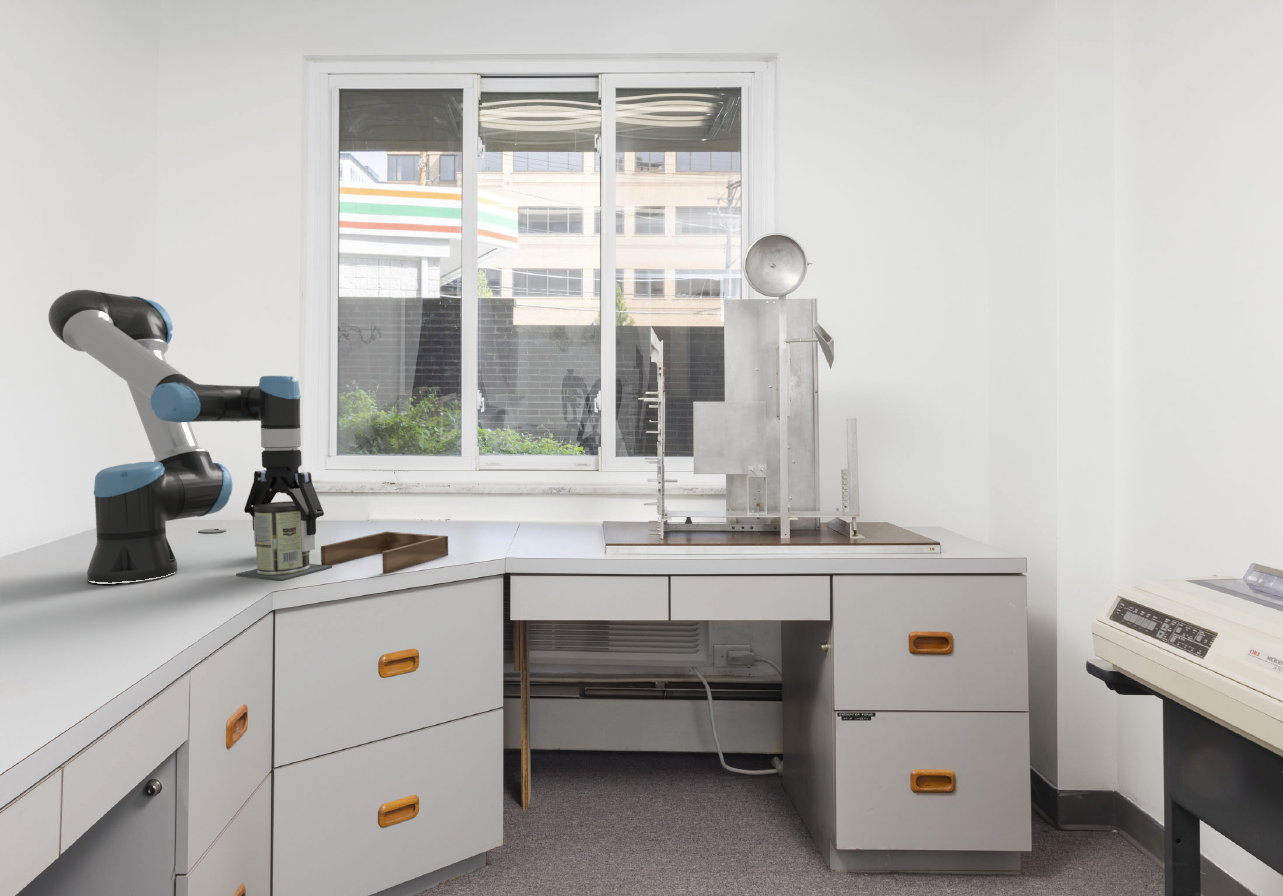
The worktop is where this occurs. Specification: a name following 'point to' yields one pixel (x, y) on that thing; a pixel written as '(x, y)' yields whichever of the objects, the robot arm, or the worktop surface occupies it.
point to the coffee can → (279, 539)
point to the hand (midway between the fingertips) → (284, 548)
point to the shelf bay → (388, 549)
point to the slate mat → (282, 577)
